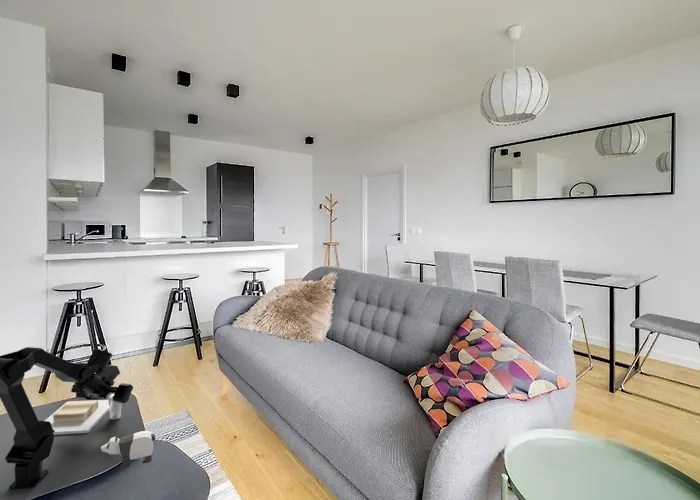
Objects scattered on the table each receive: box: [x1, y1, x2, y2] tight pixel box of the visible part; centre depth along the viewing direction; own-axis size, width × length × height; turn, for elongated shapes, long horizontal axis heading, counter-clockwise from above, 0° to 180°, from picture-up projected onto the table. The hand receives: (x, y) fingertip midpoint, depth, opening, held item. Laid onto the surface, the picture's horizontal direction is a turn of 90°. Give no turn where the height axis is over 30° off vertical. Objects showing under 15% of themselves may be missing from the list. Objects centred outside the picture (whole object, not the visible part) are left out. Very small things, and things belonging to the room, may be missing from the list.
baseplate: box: [44, 399, 110, 436], centre depth 137 cm, size 22×18×1 cm
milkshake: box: [107, 394, 123, 421], centre depth 137 cm, size 4×5×10 cm
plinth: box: [53, 400, 98, 423], centre depth 137 cm, size 10×10×3 cm
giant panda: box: [99, 430, 156, 470], centre depth 113 cm, size 15×6×10 cm, turn 117°
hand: (117, 399), depth 138 cm, fingers open, 9 cm apart
